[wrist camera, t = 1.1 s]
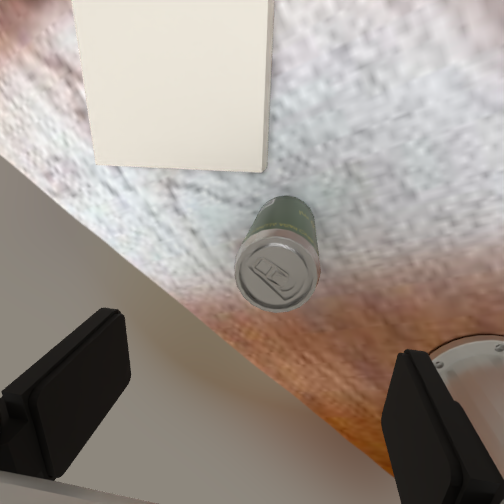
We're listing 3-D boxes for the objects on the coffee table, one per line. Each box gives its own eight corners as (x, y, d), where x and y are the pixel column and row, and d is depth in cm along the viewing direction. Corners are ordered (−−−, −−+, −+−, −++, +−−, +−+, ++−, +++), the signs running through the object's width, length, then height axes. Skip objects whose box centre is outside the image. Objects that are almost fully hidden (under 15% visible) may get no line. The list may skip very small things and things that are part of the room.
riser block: (267, 167, 28) (261, 172, 24) (121, 160, 30) (95, 164, 26) (275, -29, 23) (270, -60, 19) (99, -23, 25) (63, -50, 21)
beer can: (246, 227, 30) (214, 282, 19) (279, 182, 28) (265, 214, 17) (291, 259, 31) (284, 330, 20) (326, 217, 29) (341, 270, 18)
